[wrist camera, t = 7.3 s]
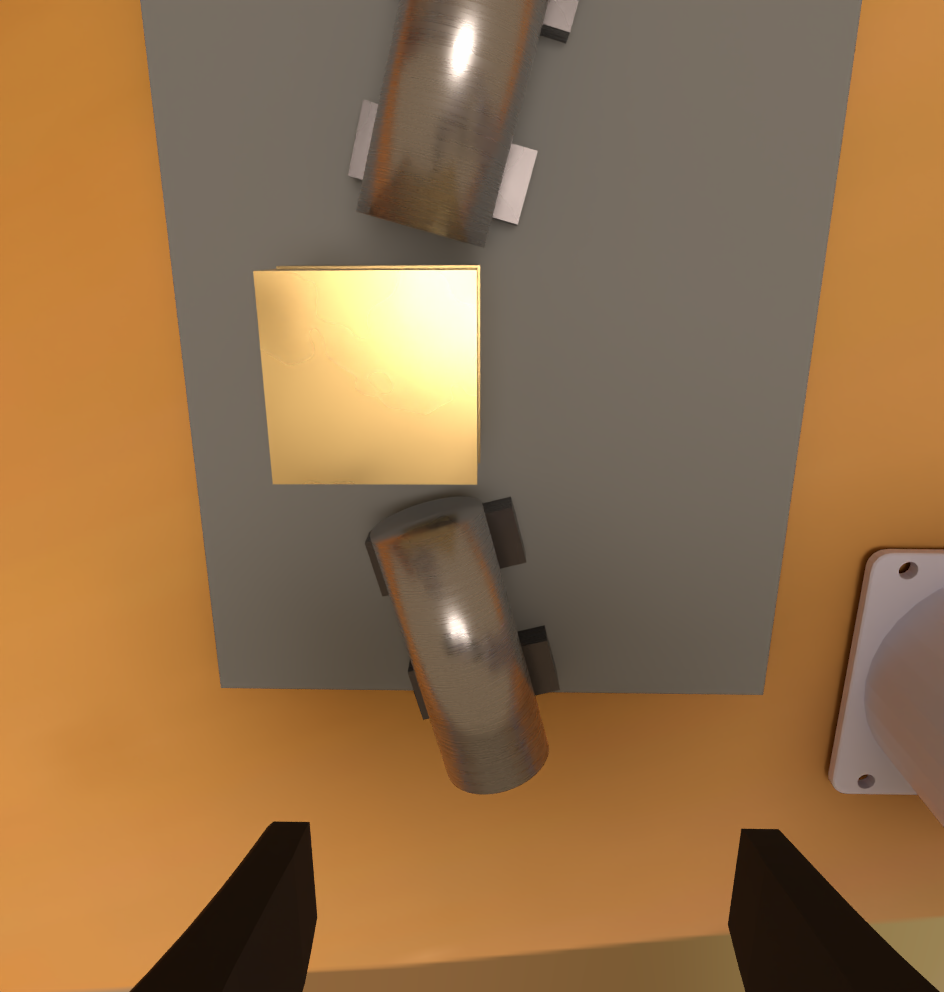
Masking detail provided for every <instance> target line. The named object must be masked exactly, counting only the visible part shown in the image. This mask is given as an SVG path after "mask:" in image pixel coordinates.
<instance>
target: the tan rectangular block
mask: <svg viewBox="0 0 944 992" xmlns="http://www.w3.org/2000/svg"><path fill="white" fill-rule="evenodd" d="M253 275H254V286H255V297H256V307H257V318H258V329H259V340H260V351H261V362H262V373H263V384H264V395H265V405H266V416H267V427H268V438H269V449H270V460H271V471H272V482H273V484H450V485H477V475H478V463H480V457H481V301H480V265H287V266H276V269H270V270H258V271H253Z"/></svg>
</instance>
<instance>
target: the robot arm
mask: <svg viewBox="0 0 944 992" xmlns="http://www.w3.org/2000/svg"><path fill="white" fill-rule="evenodd" d="M907 562H910V563H911V565H910V567H909V569H908V570H907V571H906V572H904V573H900V574H899V569H900V567H901V566H902V565H903V564H904V563H907ZM866 774H868V776H867V777H866V778H864V779H862V780H858V779H859V778H860V777H861V776H863V775H866ZM828 776H829V780H830V782H831V783H832V785H833V786H834V788H835V789H836V790H837V791H839V792H840V793H845V794H897V795H918V796H919V797H920V798H921V799H922V801H923V802H924V803H925V804H926V806H927V807H928V808H929V809H930V811H931V812H932V813H933V815H934V816H935V817H936V818H937V820H938V821H939V822H940V823H941V825H942V826H943V827H944V549H884V550H879V551H877V552H876V553H874V554H873V555H872V556H871V557H870V558H869V559H868V561H867V564H866V568H865V573H864V579H863V584H862V590H861V595H860V601H859V607H858V612H857V618H856V623H855V629H854V634H853V640H852V645H851V651H850V656H849V662H848V667H847V673H846V678H845V684H844V690H843V695H842V701H841V706H840V712H839V717H838V723H837V728H836V734H835V739H834V745H833V750H832V756H831V762H830V767H829V773H828ZM316 921H317V909H316V896H315V884H314V871H313V859H312V847H311V834H310V822H273V823H271V824H270V825H269V826H268V827H267V828H266V830H265V831H264V832H263V834H262V835H261V837H260V838H259V839H258V841H257V842H256V843H255V845H254V846H253V847H252V849H251V850H250V851H249V853H248V854H247V855H246V857H245V858H244V859H243V861H242V862H241V863H240V865H239V866H238V867H237V868H236V870H235V871H234V872H233V874H232V875H231V876H230V877H229V879H228V880H227V881H226V883H225V884H224V885H223V886H222V888H221V889H220V890H219V891H218V893H217V894H216V895H215V896H214V897H213V899H212V900H211V901H210V902H209V903H208V905H207V906H206V907H205V908H204V909H203V911H202V912H201V913H200V914H199V915H198V917H197V918H196V919H195V920H194V922H193V923H192V924H191V925H190V926H189V927H188V929H187V930H186V931H185V932H184V933H183V934H182V935H181V937H180V938H179V939H178V940H177V941H176V942H175V943H174V944H173V945H172V947H171V948H170V949H169V950H168V951H167V952H166V953H165V954H164V955H163V956H162V958H161V959H160V960H159V961H158V962H157V963H156V964H155V965H154V966H153V967H152V969H151V970H150V971H149V972H148V973H147V974H146V975H145V976H144V977H143V978H142V979H141V980H140V981H139V982H138V983H137V984H136V985H135V986H134V988H133V989H132V990H131V991H130V992H302V991H303V987H304V984H305V979H306V974H307V969H308V964H309V959H310V954H311V949H312V943H313V938H314V932H315V926H316ZM728 927H729V931H730V935H731V938H732V943H733V947H734V950H735V955H736V959H737V962H738V966H739V970H740V973H741V977H742V981H743V984H744V987H745V992H939V991H938V990H937V989H936V988H935V987H934V986H933V985H931V983H929V981H927V980H926V979H925V978H924V977H923V976H922V975H921V974H920V973H919V972H918V971H917V970H915V969H914V968H913V967H912V966H911V965H910V964H909V963H908V962H907V961H906V960H905V959H904V958H902V956H900V955H899V954H898V953H897V952H896V951H895V950H894V949H893V948H892V947H891V946H890V945H889V944H888V943H887V942H886V941H885V940H884V939H883V938H882V937H881V936H880V935H879V934H878V933H877V932H876V931H875V930H874V929H873V928H872V927H871V926H870V925H869V924H868V923H867V922H866V921H865V920H864V919H863V918H862V917H861V916H860V915H859V914H858V913H857V912H856V911H855V910H854V909H853V908H852V907H851V906H850V905H849V903H848V902H847V901H846V900H845V899H844V898H843V897H842V896H841V895H840V894H839V893H838V892H837V891H836V890H835V889H834V888H833V887H832V886H831V885H830V884H829V882H828V881H827V880H826V879H825V878H824V877H823V876H822V875H821V874H820V873H819V872H818V871H817V870H816V869H815V868H814V867H813V865H812V864H811V863H810V862H809V861H808V860H807V859H806V858H805V857H804V856H803V855H802V854H801V853H800V852H799V850H798V849H797V848H796V847H795V846H794V845H793V844H792V843H791V842H790V841H789V840H788V839H787V838H786V837H785V836H784V835H783V834H782V832H781V831H780V830H779V829H741V836H740V843H739V850H738V857H737V864H736V871H735V878H734V885H733V892H732V899H731V906H730V913H729V921H728Z"/></svg>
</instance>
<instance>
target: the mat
mask: <svg viewBox="0 0 944 992" xmlns="http://www.w3.org/2000/svg"><path fill="white" fill-rule="evenodd" d="M140 2H141V10H142V19H143V27H144V36H145V44H146V53H147V61H148V70H149V78H150V87H151V95H152V104H153V112H154V121H155V129H156V138H157V146H158V155H159V163H160V172H161V180H162V189H163V198H164V206H165V215H166V223H167V232H168V240H169V249H170V257H171V266H172V274H173V283H174V291H175V300H176V308H177V317H178V325H179V334H180V342H181V351H182V359H183V368H184V376H185V385H186V393H187V402H188V410H189V419H190V427H191V436H192V444H193V453H194V462H195V470H196V479H197V487H198V496H199V504H200V513H201V521H202V530H203V538H204V547H205V555H206V564H207V572H208V581H209V589H210V598H211V606H212V615H213V623H214V632H215V640H216V649H217V657H218V666H219V674H220V683H221V688H269V689H347V690H413V687H412V684H411V681H410V678H409V675H408V667H409V661H410V657H409V654H408V651H407V648H406V645H405V642H404V639H403V636H402V633H401V630H400V627H399V624H398V621H397V618H396V615H395V612H394V608H393V605H392V602H391V599H390V596H389V595H387V596H383V597H382V594H381V591H380V588H379V585H378V582H377V579H376V576H375V573H374V570H373V567H372V564H371V561H370V558H369V555H368V552H367V549H366V546H365V541H366V539H367V536H368V534H369V532H370V531H372V530H373V529H374V527H375V526H376V525H378V524H379V523H380V522H381V521H383V520H384V519H386V518H388V517H389V516H391V515H393V514H395V513H397V512H399V511H402V510H404V509H406V508H409V507H412V506H415V505H417V504H421V503H424V502H428V501H432V500H436V499H441V498H448V497H461V496H463V497H473V498H476V499H478V500H480V501H481V502H482V503H486V502H490V501H494V500H499V499H503V498H507V497H511V498H512V502H513V506H514V510H515V514H516V517H517V521H518V525H519V529H520V533H521V537H522V540H523V544H524V548H525V554H526V562H527V563H523V564H519V565H514V566H510V567H506V568H502V569H500V570H501V574H502V578H503V581H504V585H505V589H506V592H507V596H508V599H509V603H510V607H511V610H512V614H513V618H514V621H515V625H516V629H517V631H521V630H526V629H530V628H534V627H539V626H543V625H545V628H546V632H547V636H548V640H549V643H550V647H551V651H552V655H553V659H554V662H555V666H556V670H557V675H558V681H559V687H560V690H557V691H553V692H582V693H660V694H738V695H763V692H764V684H765V677H766V670H767V663H768V656H769V649H770V642H771V635H772V628H773V621H774V614H775V607H776V600H777V593H778V586H779V579H780V572H781V565H782V558H783V551H784V544H785V537H786V530H787V523H788V516H789V509H790V502H791V495H792V488H793V481H794V474H795V467H796V460H797V453H798V446H799V439H800V432H801V425H802V418H803V411H804V404H805V397H806V390H807V383H808V376H809V369H810V362H811V355H812V348H813V341H814V333H815V326H816V319H817V312H818V305H819V298H820V291H821V284H822V277H823V270H824V263H825V256H826V249H827V242H828V235H829V228H830V221H831V214H832V207H833V200H834V193H835V186H836V179H837V172H838V165H839V158H840V151H841V144H842V137H843V130H844V123H845V116H846V109H847V102H848V95H849V88H850V81H851V74H852V67H853V60H854V53H855V46H856V39H857V32H858V25H859V18H860V11H861V4H862V0H579V1H578V5H577V9H576V12H575V16H574V20H573V23H572V27H571V31H570V34H569V36H568V39H567V42H566V43H563V42H560V41H557V40H553V39H550V38H547V37H544V36H540V37H539V41H538V45H537V48H536V52H535V56H534V60H533V64H532V67H531V71H530V75H529V79H528V83H527V87H526V90H525V94H524V98H523V102H522V106H521V109H520V113H519V117H518V121H517V125H516V129H515V132H514V136H513V140H512V144H516V145H519V146H523V147H526V148H529V149H533V150H536V151H538V152H537V156H536V159H535V163H534V167H533V170H532V174H531V178H530V181H529V185H528V189H527V192H526V196H525V200H524V203H523V207H522V211H521V214H520V218H519V222H518V225H517V226H515V225H512V224H508V223H505V222H502V221H498V220H495V219H492V220H491V224H490V228H489V232H488V236H487V239H486V243H485V247H484V248H482V247H478V246H475V245H471V244H468V243H464V242H461V241H457V240H454V239H450V238H447V237H443V236H440V235H436V234H433V233H429V232H426V231H422V230H419V229H415V228H412V227H408V226H405V225H401V224H398V223H394V222H391V221H387V220H384V219H380V218H377V217H373V216H370V215H366V214H363V213H359V212H356V209H357V205H358V200H359V195H360V190H361V185H362V181H359V180H356V179H353V178H351V177H350V176H348V173H349V168H350V163H351V158H352V153H353V148H354V143H355V138H356V133H357V128H358V123H359V118H360V113H361V108H362V103H363V100H367V101H370V102H374V103H377V104H378V103H379V98H380V93H381V89H382V84H383V79H384V74H385V69H386V65H387V60H388V55H389V50H390V45H391V40H392V36H393V31H394V26H395V21H396V16H397V11H398V7H399V2H400V0H140ZM287 265H480V301H481V457H480V463H478V475H477V485H450V484H273V482H272V471H271V460H270V449H269V438H268V427H267V416H266V405H265V395H264V384H263V373H262V362H261V351H260V340H259V329H258V318H257V307H256V297H255V286H254V275H253V271H258V270H270V269H276V266H287Z"/></svg>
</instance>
